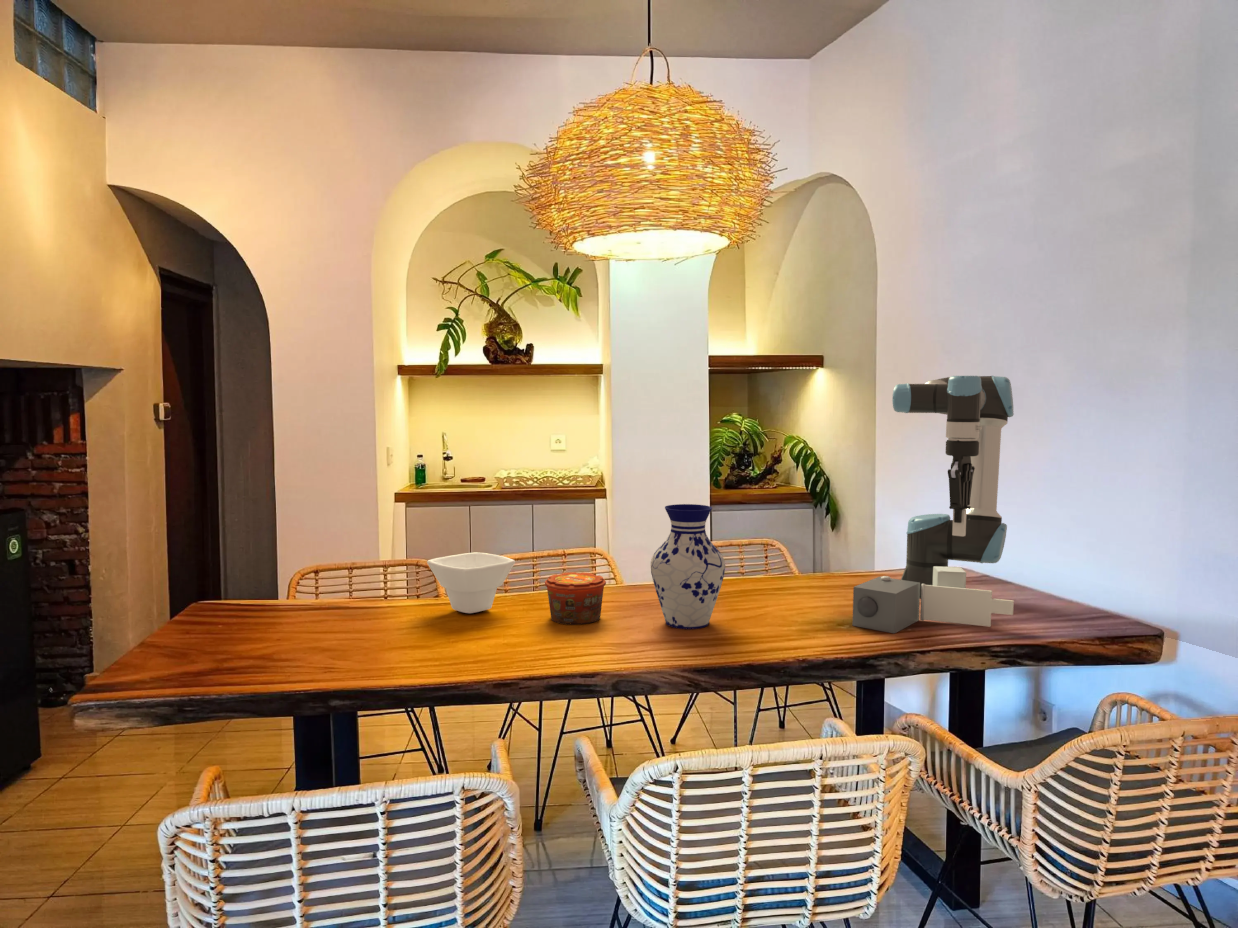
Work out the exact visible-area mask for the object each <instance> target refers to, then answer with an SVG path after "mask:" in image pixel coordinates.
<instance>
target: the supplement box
mask: <svg viewBox="0 0 1238 928" xmlns="http://www.w3.org/2000/svg"><path fill="white" fill-rule="evenodd" d="M933 585H934V586H945V587H956V588H967V586H966V585H967V572H966V570H964V569H963V568H962V567H961V566H948V567H940V566H934V567H933Z"/></svg>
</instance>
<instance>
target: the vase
mask: <svg viewBox="0 0 1238 928" xmlns="http://www.w3.org/2000/svg"><path fill="white" fill-rule="evenodd" d="M664 509H665V512H666V513H667V516H668V518H669V520H670V525H671V526H670V532H669V534H668V536H667V537H666V539H665V541H664V542H662V544H661V545H660V546H659V547H658V548H657V549H656V550H655V552H654V553H653V554H652V557H651V561H650V574H651V577H652V582H653V585H654V589H655V593H656V595H657V599H658V602H659V605H660V608H661V612H662V614H663V617H664V621H665V624H666V625H667V626H669V627H671V628H675V629H678V630H679V629H681V630H697V629H699V630H700V629H702V628H705V627H708V625H709V624H710V620H711V618H712V617H711V616H712V615H713V611H714V608H715V605H716V603H717V600H718V596H719V594H720V591H721V589H722V584H723V580H724V577H725V573H726V563H725V559H724V557H723V554H722V553H721V552H720V551H719V550H718V548H717V547H716V546H715V545H714V543H712V541H711V540H710V539H709V537H708V535H707V532H706V523H707V519H708V518H709V515H710V513H711V512H712V510H713V507H712V506H711V505H705V504H697V503H695V504H694V503H693V504H690V503H683V504H680V503H679V504H668V505H665V506H664Z"/></svg>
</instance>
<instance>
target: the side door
mask: <svg viewBox="0 0 1238 928" xmlns="http://www.w3.org/2000/svg"><path fill="white" fill-rule="evenodd" d="M1014 602H1015V601H1014V599H1013V600H1011V599H1001V598H993V590H991V589H990V590H988V589H977V588H968V587H966V588H956V587H945V586H934V585H926V584H922V585H921V597H920V613H919V620H920V621H933V622H942V623H950V624H963V625H973V626H979V627H980V626H983V627H990V628H991V626H992V614H998V615H1008V616H1013V615H1014V607H1015V606H1014V605H1015V604H1014Z"/></svg>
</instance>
